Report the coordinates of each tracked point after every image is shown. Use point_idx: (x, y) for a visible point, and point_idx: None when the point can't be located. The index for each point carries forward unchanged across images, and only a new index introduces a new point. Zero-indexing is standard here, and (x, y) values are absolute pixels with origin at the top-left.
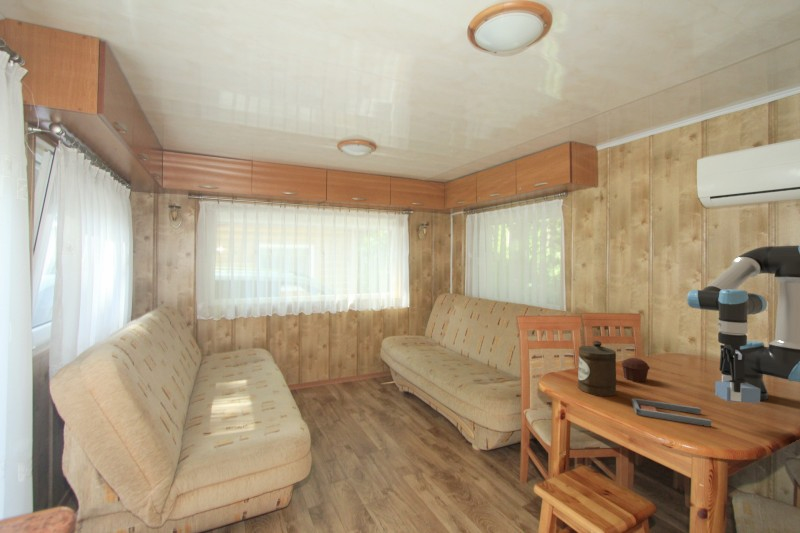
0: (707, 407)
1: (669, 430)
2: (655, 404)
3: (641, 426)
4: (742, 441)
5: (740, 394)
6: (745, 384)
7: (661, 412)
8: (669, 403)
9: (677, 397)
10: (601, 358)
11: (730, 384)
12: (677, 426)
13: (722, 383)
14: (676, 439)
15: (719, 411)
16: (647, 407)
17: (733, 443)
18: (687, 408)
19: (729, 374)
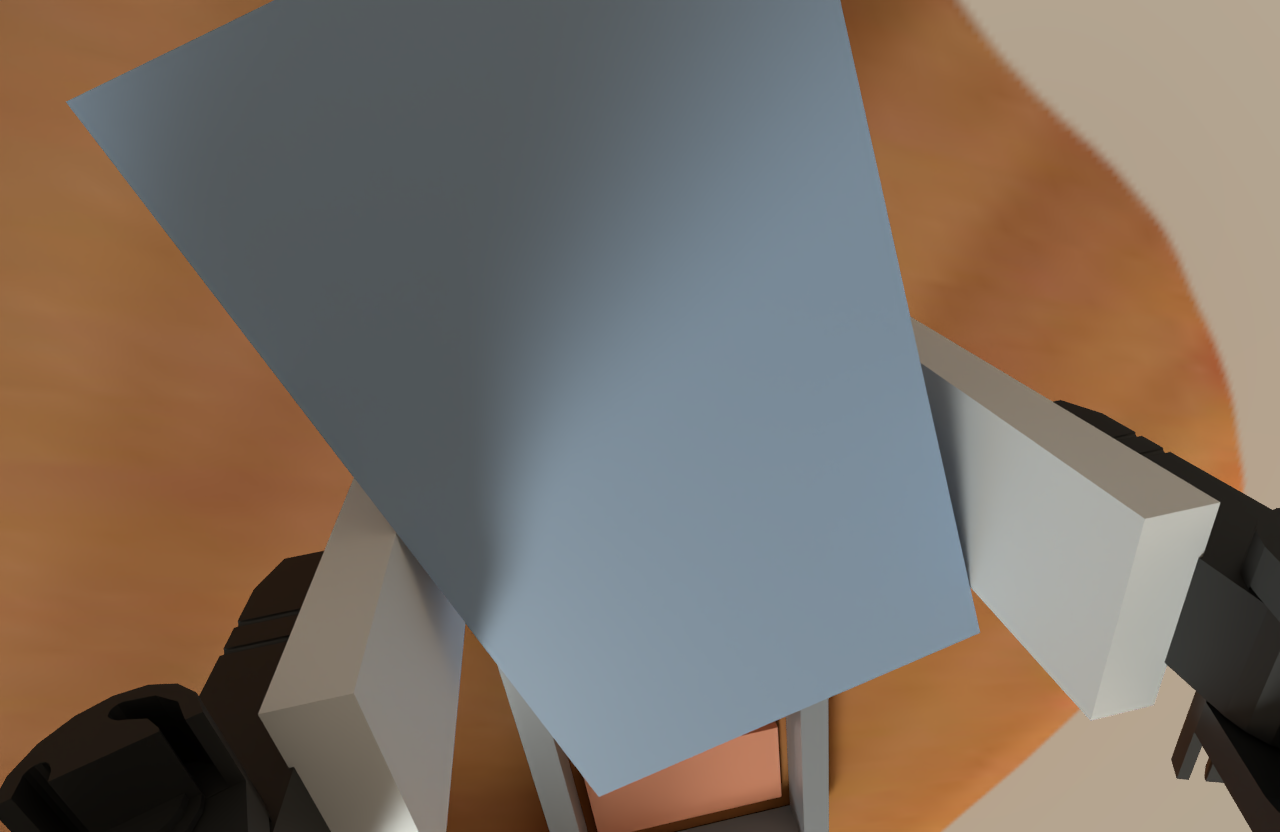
0: (164, 433)
1: (1010, 658)
2: (570, 786)
3: (1006, 767)
4: (1040, 248)
5: (961, 360)
6: (435, 212)
7: (810, 751)
8: (523, 735)
9: (50, 669)
10: None
11: (1028, 642)
12: None
13: (713, 699)
14: None
15: (215, 330)
16: (633, 799)
17: (1104, 322)
18: None
19: (257, 792)
